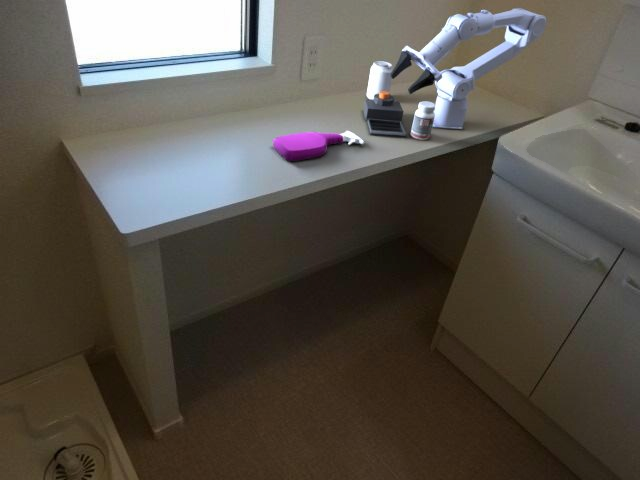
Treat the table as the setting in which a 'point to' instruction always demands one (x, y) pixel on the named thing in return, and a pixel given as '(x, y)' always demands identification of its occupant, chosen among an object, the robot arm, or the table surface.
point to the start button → (384, 95)
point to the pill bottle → (423, 121)
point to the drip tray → (386, 128)
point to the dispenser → (382, 109)
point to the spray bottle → (310, 144)
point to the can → (379, 78)
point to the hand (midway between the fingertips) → (400, 84)
